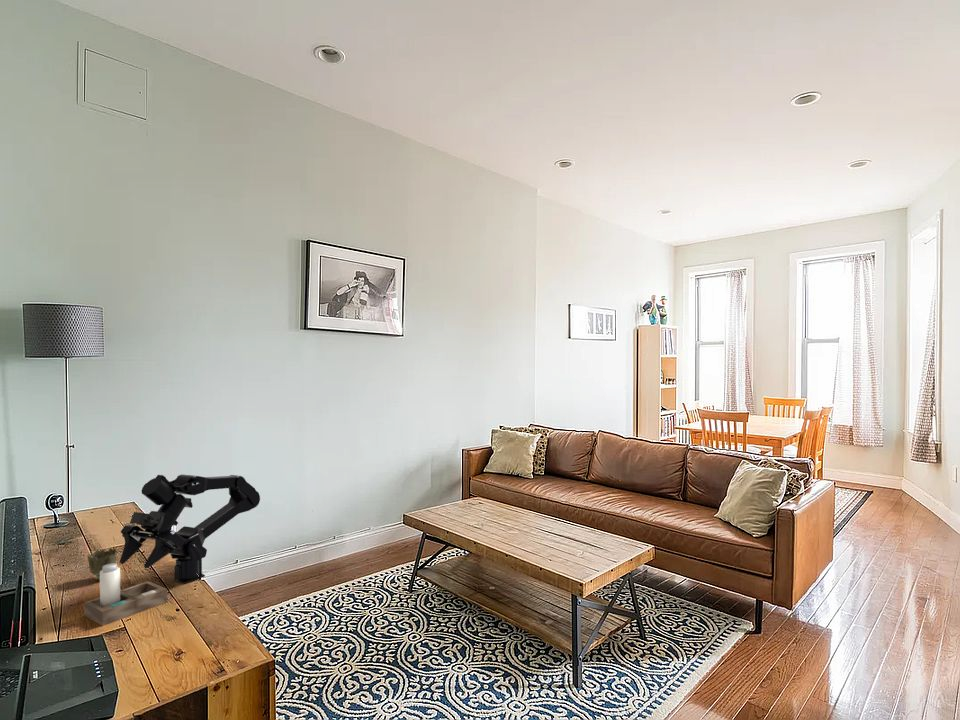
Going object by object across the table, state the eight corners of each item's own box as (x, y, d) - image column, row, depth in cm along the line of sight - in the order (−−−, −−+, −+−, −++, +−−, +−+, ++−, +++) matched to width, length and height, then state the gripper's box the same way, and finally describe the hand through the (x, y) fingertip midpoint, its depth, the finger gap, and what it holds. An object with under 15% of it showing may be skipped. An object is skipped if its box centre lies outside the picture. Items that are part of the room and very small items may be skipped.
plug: (108, 609, 146) (108, 562, 146) (124, 609, 146) (123, 562, 146) (96, 617, 142) (95, 568, 142) (112, 617, 142) (111, 568, 142)
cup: (83, 585, 162) (83, 557, 162) (93, 575, 169) (93, 549, 169) (112, 582, 164) (112, 555, 164) (121, 572, 171) (120, 547, 171)
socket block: (148, 593, 156) (148, 580, 156) (167, 601, 151) (167, 588, 151) (84, 615, 143) (84, 601, 143) (102, 625, 138) (102, 611, 137)
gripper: (126, 496, 158) (87, 547, 148) (174, 501, 151) (137, 556, 141) (151, 516, 166) (116, 566, 155) (198, 522, 159) (165, 575, 149)
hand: (133, 565), depth 150 cm, fingers open, 9 cm apart
